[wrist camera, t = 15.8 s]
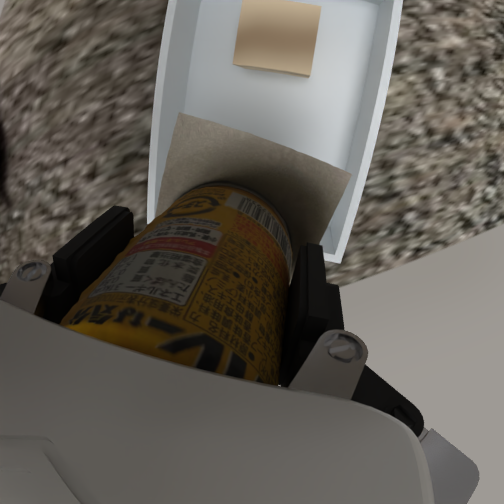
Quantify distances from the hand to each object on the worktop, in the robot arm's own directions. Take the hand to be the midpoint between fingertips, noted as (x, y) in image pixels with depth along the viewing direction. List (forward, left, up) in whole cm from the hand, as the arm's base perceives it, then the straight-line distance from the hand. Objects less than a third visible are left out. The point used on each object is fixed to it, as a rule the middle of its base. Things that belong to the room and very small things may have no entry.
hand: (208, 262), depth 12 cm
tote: (-5, 0, -17) cm, 18 cm away
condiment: (0, 0, -3) cm, 3 cm away
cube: (-10, 0, -17) cm, 19 cm away
